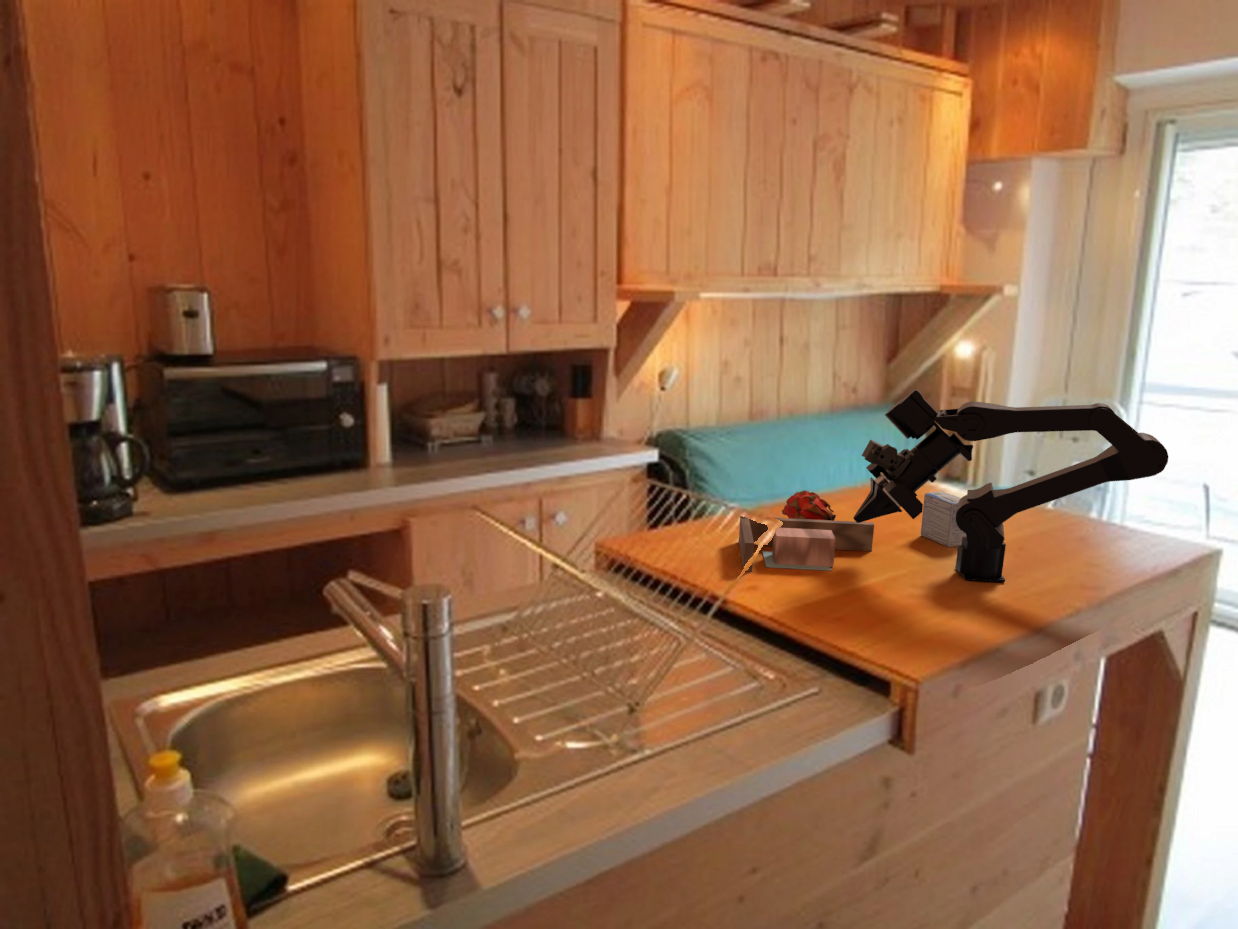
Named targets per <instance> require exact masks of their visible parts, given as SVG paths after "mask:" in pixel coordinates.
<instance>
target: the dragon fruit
mask: <svg viewBox="0 0 1238 929" xmlns="http://www.w3.org/2000/svg"><path fill="white" fill-rule="evenodd" d="M820 497H821V496H820V495H819V494H817V493H816V492H814V491H812V492H810V491H809V490H806V489H804V490H801V491H797V492H795V493H794V494H793V495H791V496H790V497H788V499H787V500H786V501H785V502H786V504H785V505H784V507H783V509H782V510H781V512H782V513H781V514H782V515H785V516H787V518H790V519H811V520H832V521H835V520H836V518H837V517H836V516H837V515H836V514H833V513H835V511H834V510H833V509H831V505H830V503H828V502H827V501H826V500H825V499H823V498H820Z"/></svg>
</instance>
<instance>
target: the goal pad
mask: <svg viewBox="0 0 1238 929" xmlns="http://www.w3.org/2000/svg"><path fill="white" fill-rule="evenodd" d="M762 556H763V560H764V565H765V568H771V569H772V568H774V569H794V570H811V571H812V570H813V571H828V572H829V571H832V568H831V567H828V566H809V565H790V564H775V563H774V559H773V556H772V551H768V550H767V551H766V550H765V551H764V550H763V551H762Z"/></svg>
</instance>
